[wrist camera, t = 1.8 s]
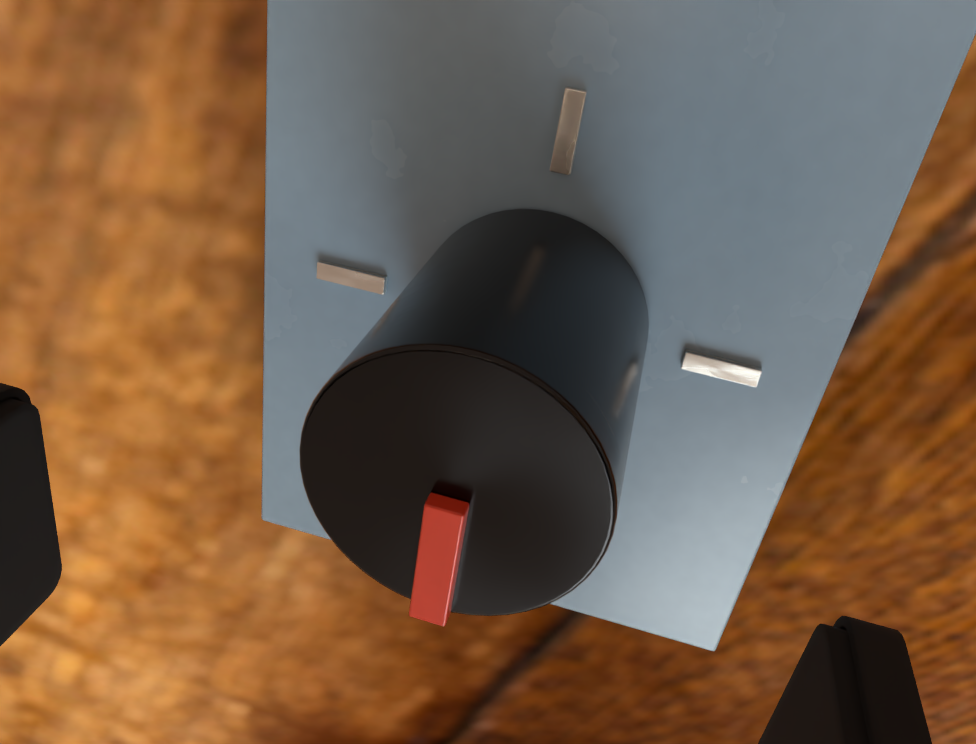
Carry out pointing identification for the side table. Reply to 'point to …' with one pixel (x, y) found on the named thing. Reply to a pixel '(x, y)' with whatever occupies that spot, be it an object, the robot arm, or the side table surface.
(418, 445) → the dial knob
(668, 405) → the dial base
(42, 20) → the side table surface
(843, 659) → the robot arm
